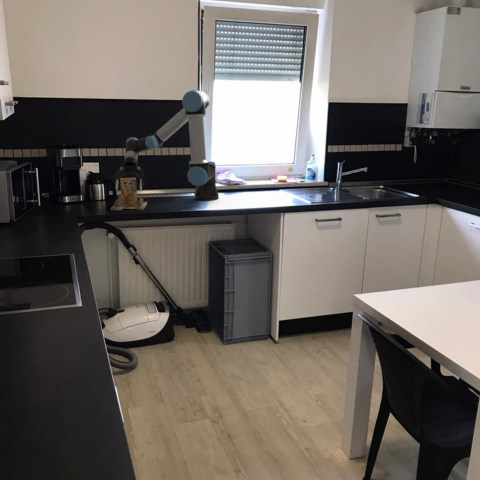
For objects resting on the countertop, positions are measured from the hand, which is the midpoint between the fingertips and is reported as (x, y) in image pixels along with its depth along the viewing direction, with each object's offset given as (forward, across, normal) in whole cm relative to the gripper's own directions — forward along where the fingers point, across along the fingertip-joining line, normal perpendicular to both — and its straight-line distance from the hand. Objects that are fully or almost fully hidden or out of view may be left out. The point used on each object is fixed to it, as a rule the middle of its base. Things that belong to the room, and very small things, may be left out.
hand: (128, 189), depth 304 cm
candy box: (+6, 0, -6) cm, 9 cm away
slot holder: (+7, 0, -7) cm, 10 cm away
